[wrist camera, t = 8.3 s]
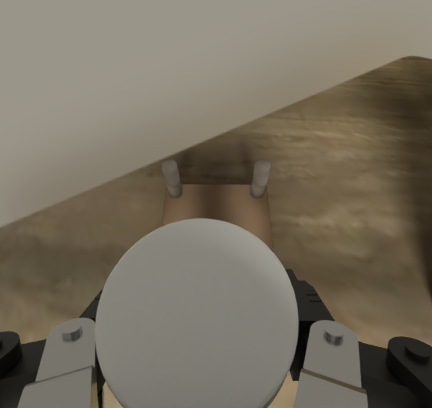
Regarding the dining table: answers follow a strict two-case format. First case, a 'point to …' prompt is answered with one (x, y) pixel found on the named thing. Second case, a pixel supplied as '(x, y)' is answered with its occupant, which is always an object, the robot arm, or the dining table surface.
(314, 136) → the dining table surface
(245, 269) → the pill bottle
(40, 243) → the dining table surface
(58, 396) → the robot arm
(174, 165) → the stand
